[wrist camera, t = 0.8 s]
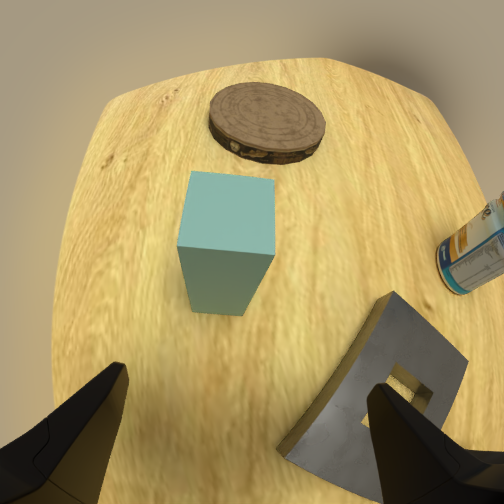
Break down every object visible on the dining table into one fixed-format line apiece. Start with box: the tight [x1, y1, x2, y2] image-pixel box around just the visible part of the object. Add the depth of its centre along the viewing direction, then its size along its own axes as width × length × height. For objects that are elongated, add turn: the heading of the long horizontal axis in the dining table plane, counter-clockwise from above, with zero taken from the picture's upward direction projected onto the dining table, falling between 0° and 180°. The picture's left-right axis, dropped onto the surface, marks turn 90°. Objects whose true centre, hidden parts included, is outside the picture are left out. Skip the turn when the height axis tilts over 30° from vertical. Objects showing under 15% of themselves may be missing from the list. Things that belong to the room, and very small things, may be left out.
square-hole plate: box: [276, 291, 469, 504], centre depth 20 cm, size 18×14×3 cm
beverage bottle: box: [437, 191, 504, 295], centre depth 21 cm, size 8×8×20 cm
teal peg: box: [177, 171, 275, 316], centre depth 19 cm, size 4×4×13 cm
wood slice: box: [209, 82, 326, 165], centre depth 35 cm, size 16×16×3 cm
